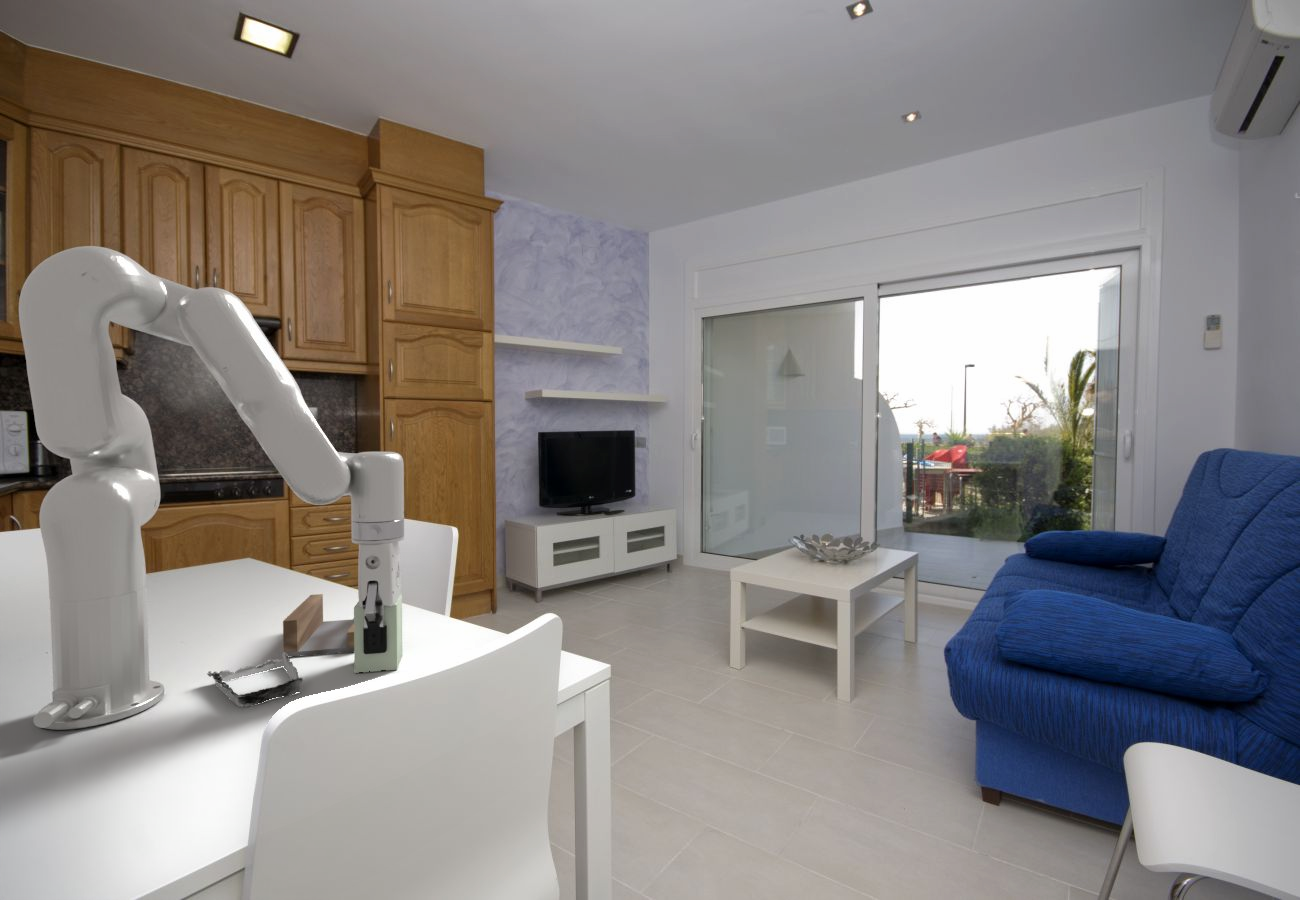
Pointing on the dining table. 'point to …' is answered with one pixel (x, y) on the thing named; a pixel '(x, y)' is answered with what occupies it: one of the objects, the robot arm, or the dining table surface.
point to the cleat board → (315, 631)
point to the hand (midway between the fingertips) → (379, 644)
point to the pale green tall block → (394, 640)
